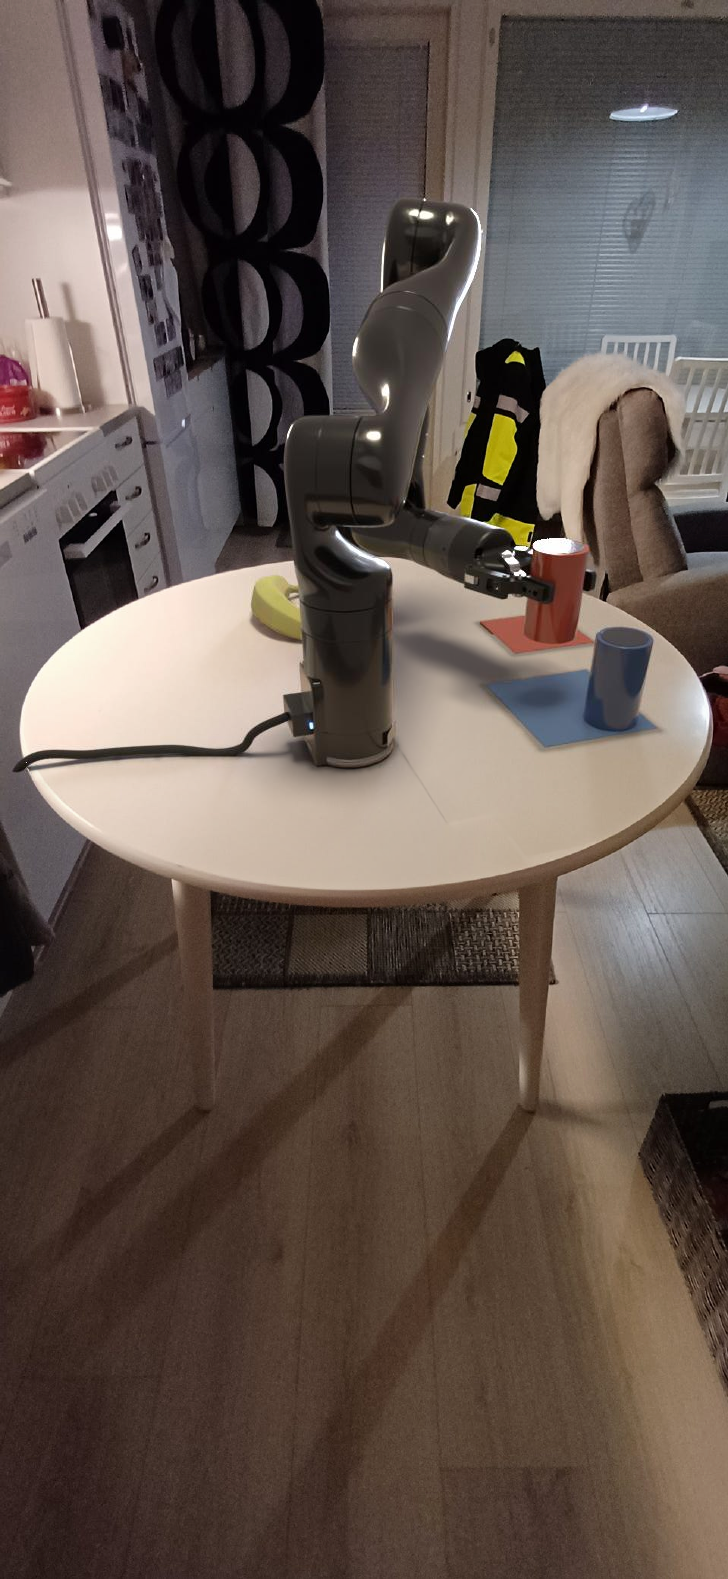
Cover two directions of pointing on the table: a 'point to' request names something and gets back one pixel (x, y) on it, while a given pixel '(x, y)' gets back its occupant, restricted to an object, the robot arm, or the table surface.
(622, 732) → the blue mat
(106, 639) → the table surface
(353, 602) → the robot arm
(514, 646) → the red mat
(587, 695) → the blue cup
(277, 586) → the banana
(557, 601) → the red cup
